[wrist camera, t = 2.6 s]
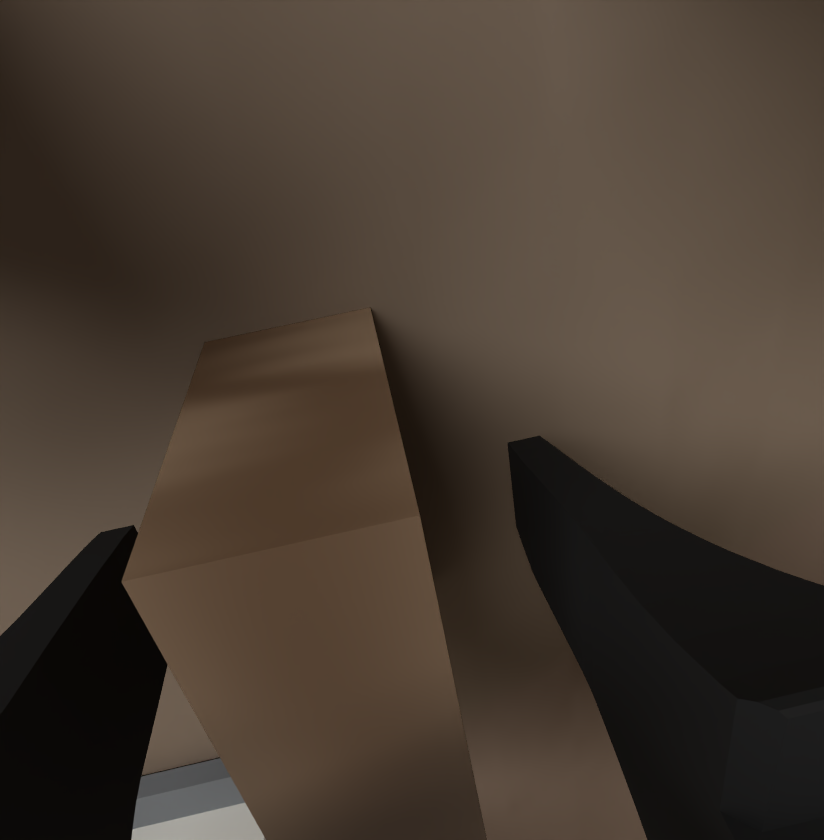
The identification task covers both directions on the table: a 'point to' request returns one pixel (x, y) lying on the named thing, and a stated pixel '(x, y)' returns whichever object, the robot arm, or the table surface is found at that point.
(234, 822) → the tile
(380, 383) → the tan cardboard carton
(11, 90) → the table surface
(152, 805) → the mat
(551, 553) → the robot arm
